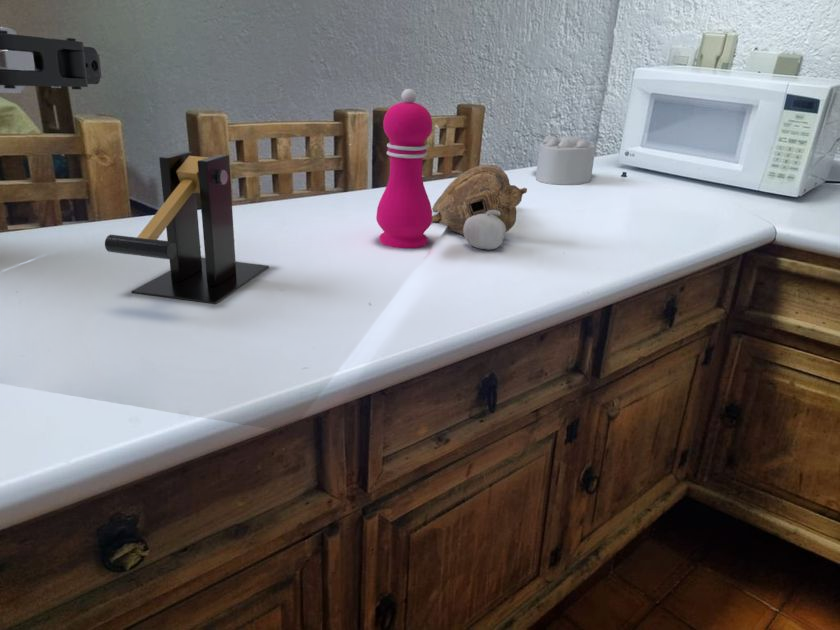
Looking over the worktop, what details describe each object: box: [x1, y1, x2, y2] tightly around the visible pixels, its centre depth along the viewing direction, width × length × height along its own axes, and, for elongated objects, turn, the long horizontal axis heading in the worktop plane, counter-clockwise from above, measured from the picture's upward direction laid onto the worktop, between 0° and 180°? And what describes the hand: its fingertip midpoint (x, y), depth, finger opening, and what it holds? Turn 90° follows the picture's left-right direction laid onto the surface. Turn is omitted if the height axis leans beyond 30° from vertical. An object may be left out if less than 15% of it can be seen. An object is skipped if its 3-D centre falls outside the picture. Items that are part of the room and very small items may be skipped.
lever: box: [104, 155, 210, 260], centre depth 61 cm, size 13×6×2 cm, turn 168°
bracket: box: [130, 150, 270, 305], centre depth 67 cm, size 12×9×14 cm
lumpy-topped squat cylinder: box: [535, 135, 596, 186], centre depth 138 cm, size 10×13×9 cm
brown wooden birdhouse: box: [431, 164, 528, 236], centre depth 101 cm, size 10×24×15 cm
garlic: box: [463, 210, 507, 251], centre depth 88 cm, size 6×5×5 cm
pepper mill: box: [376, 88, 433, 249], centre depth 82 cm, size 7×7×20 cm
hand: (34, 63), depth 43 cm, fingers open, 8 cm apart
